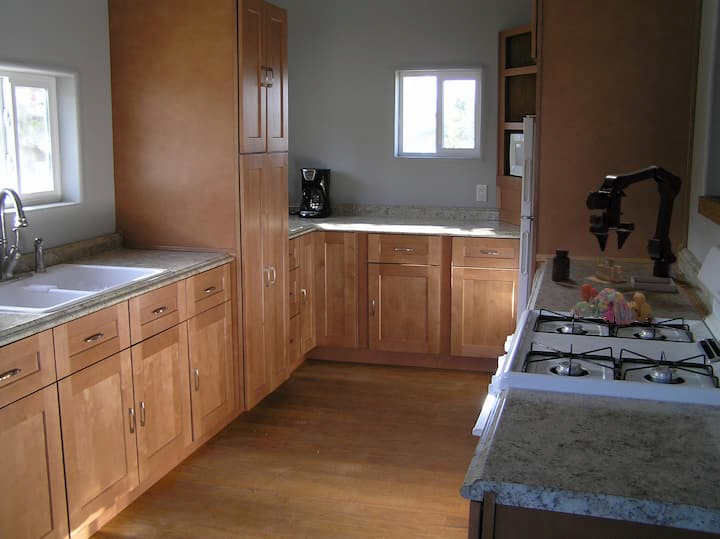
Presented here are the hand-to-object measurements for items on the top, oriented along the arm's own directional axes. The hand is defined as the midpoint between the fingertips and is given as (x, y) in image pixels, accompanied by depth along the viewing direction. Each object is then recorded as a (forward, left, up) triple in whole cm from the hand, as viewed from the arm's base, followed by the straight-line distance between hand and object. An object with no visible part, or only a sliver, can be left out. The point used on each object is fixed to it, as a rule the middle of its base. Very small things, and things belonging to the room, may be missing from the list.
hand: (611, 250), depth 297 cm
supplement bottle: (+16, -9, -12) cm, 22 cm away
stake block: (+2, 0, -12) cm, 12 cm away
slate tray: (-4, +17, -12) cm, 21 cm away
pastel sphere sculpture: (+44, +41, -12) cm, 61 cm away
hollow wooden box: (0, 0, -11) cm, 11 cm away
